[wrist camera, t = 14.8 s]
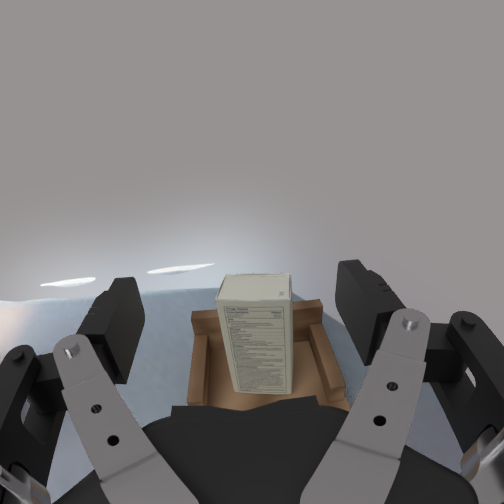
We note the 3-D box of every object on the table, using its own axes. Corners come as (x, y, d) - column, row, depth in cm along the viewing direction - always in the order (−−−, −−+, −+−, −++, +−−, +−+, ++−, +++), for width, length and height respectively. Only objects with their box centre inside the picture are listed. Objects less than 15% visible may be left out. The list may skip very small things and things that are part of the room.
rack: (187, 441, 25) (172, 406, 23) (196, 349, 38) (187, 311, 36) (352, 423, 26) (363, 386, 23) (321, 336, 38) (323, 298, 36)
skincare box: (293, 366, 33) (294, 271, 28) (291, 397, 29) (293, 299, 24) (237, 364, 34) (225, 271, 29) (230, 394, 30) (214, 298, 25)
